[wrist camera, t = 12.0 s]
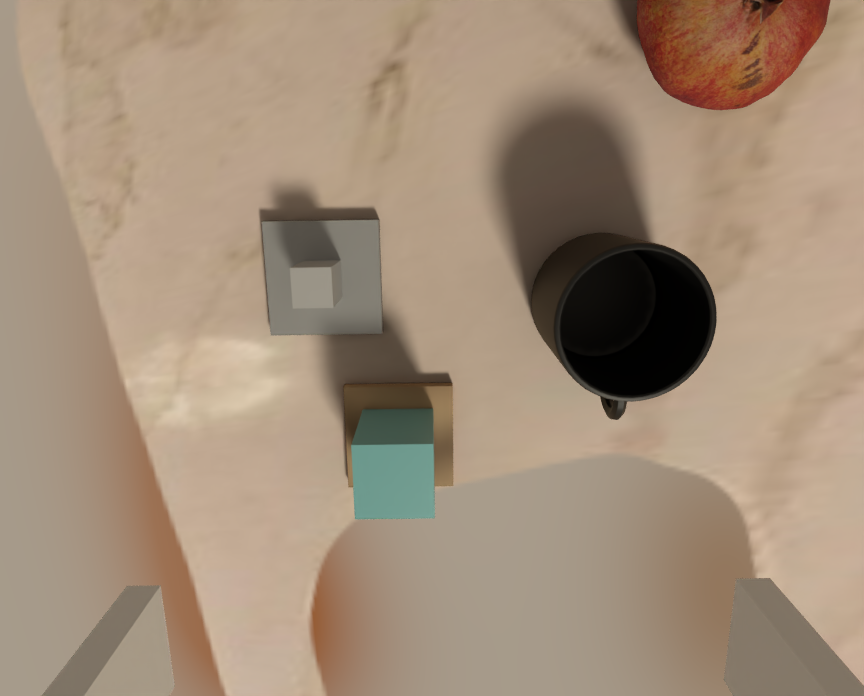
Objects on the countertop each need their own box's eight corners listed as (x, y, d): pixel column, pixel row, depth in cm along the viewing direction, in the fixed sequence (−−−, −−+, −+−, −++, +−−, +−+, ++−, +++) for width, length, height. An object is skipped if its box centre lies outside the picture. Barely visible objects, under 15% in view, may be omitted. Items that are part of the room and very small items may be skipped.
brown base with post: (344, 384, 46) (329, 417, 39) (452, 382, 46) (455, 415, 39) (349, 482, 48) (336, 530, 41) (452, 481, 48) (456, 529, 41)
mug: (530, 397, 46) (553, 445, 37) (529, 235, 43) (554, 246, 34) (656, 392, 46) (709, 439, 37) (664, 229, 43) (724, 239, 34)
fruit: (770, 109, 41) (875, 84, 31) (621, 127, 41) (679, 107, 32) (774, -71, 39) (889, -160, 29) (614, -51, 39) (675, -131, 29)
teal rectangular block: (362, 409, 45) (351, 445, 39) (433, 408, 45) (433, 444, 39) (365, 474, 47) (354, 519, 40) (434, 473, 47) (434, 518, 40)
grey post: (264, 221, 43) (243, 224, 38) (379, 219, 43) (372, 222, 38) (273, 332, 45) (254, 349, 40) (383, 331, 45) (377, 348, 40)
